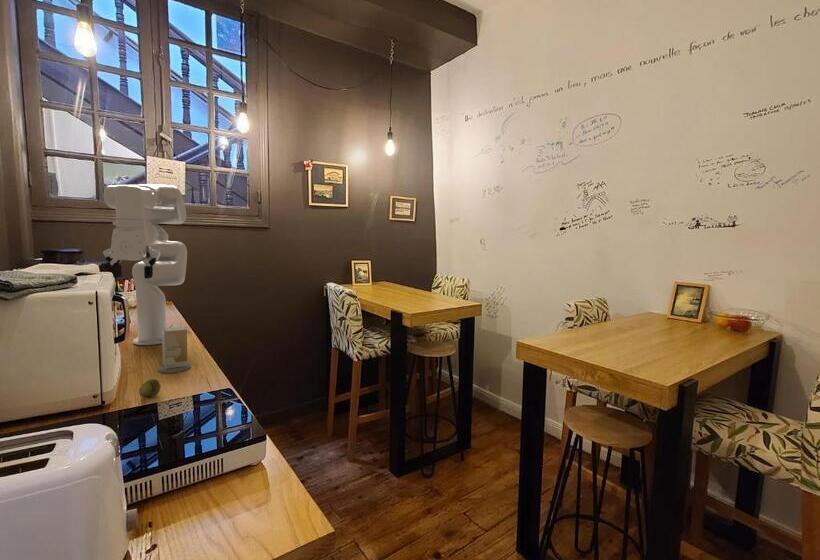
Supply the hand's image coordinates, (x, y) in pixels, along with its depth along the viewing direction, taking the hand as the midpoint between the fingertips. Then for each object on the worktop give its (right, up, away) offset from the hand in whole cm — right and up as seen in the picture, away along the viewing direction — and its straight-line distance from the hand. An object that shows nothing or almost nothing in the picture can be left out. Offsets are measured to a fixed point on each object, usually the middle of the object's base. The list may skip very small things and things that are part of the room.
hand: (133, 277), depth 131 cm
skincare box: (+15, -29, -2) cm, 32 cm away
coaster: (+15, -29, -3) cm, 33 cm away
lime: (+21, -32, -24) cm, 46 cm away
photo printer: (+10, -28, +5) cm, 31 cm away
